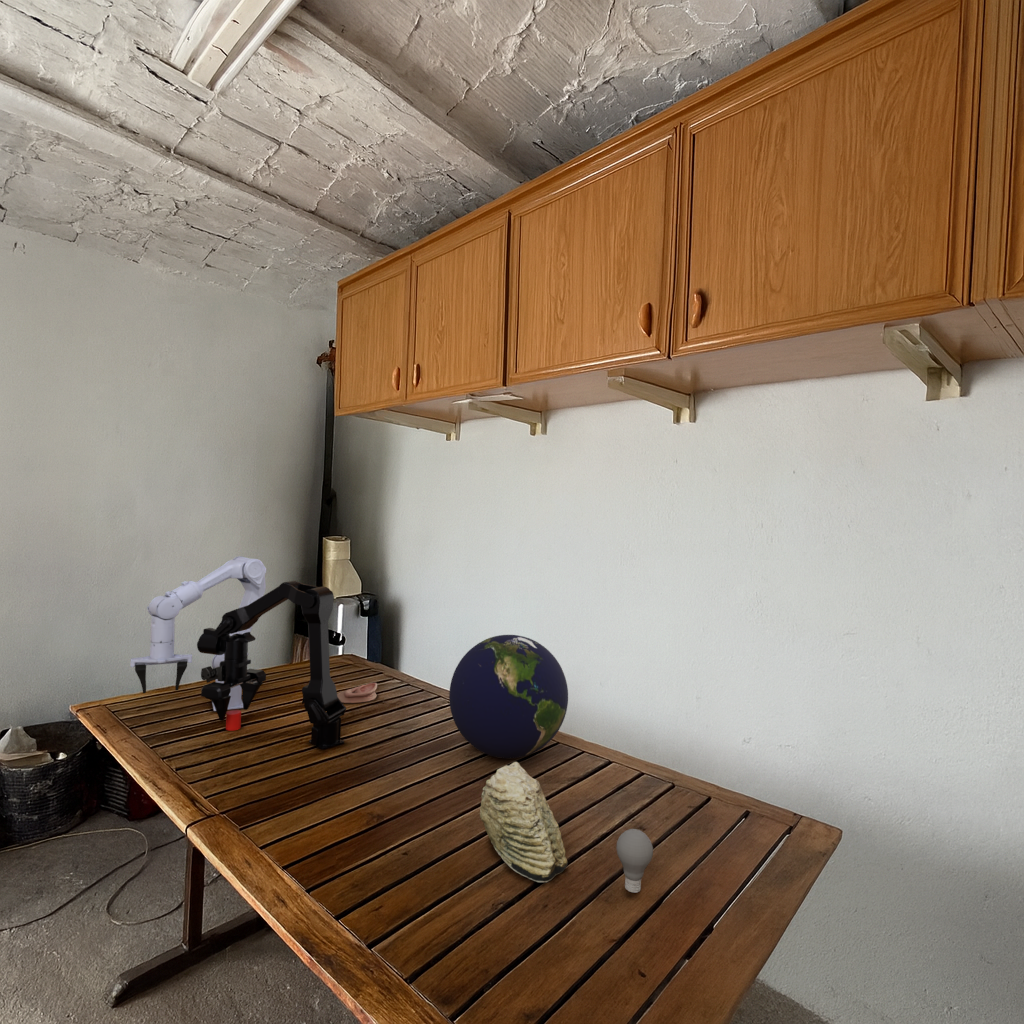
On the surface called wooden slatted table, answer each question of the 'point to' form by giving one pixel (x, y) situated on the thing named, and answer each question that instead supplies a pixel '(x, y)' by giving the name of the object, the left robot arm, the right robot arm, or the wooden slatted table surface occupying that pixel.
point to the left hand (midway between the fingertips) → (160, 690)
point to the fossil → (522, 824)
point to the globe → (508, 696)
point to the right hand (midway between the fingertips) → (233, 714)
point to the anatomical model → (358, 694)
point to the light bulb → (634, 857)
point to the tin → (233, 720)
